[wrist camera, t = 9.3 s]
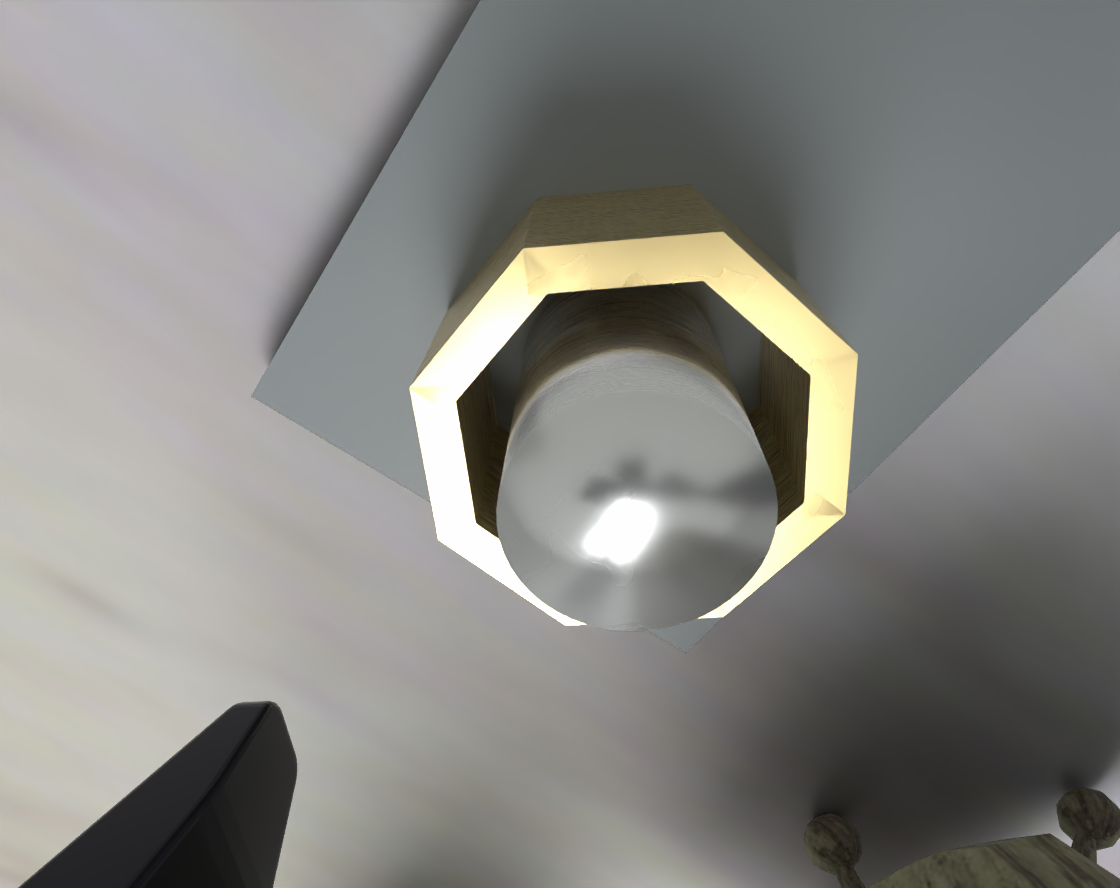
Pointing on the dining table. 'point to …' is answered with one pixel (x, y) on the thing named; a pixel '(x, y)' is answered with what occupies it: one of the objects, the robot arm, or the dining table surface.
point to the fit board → (694, 307)
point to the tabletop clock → (989, 853)
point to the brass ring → (625, 261)
